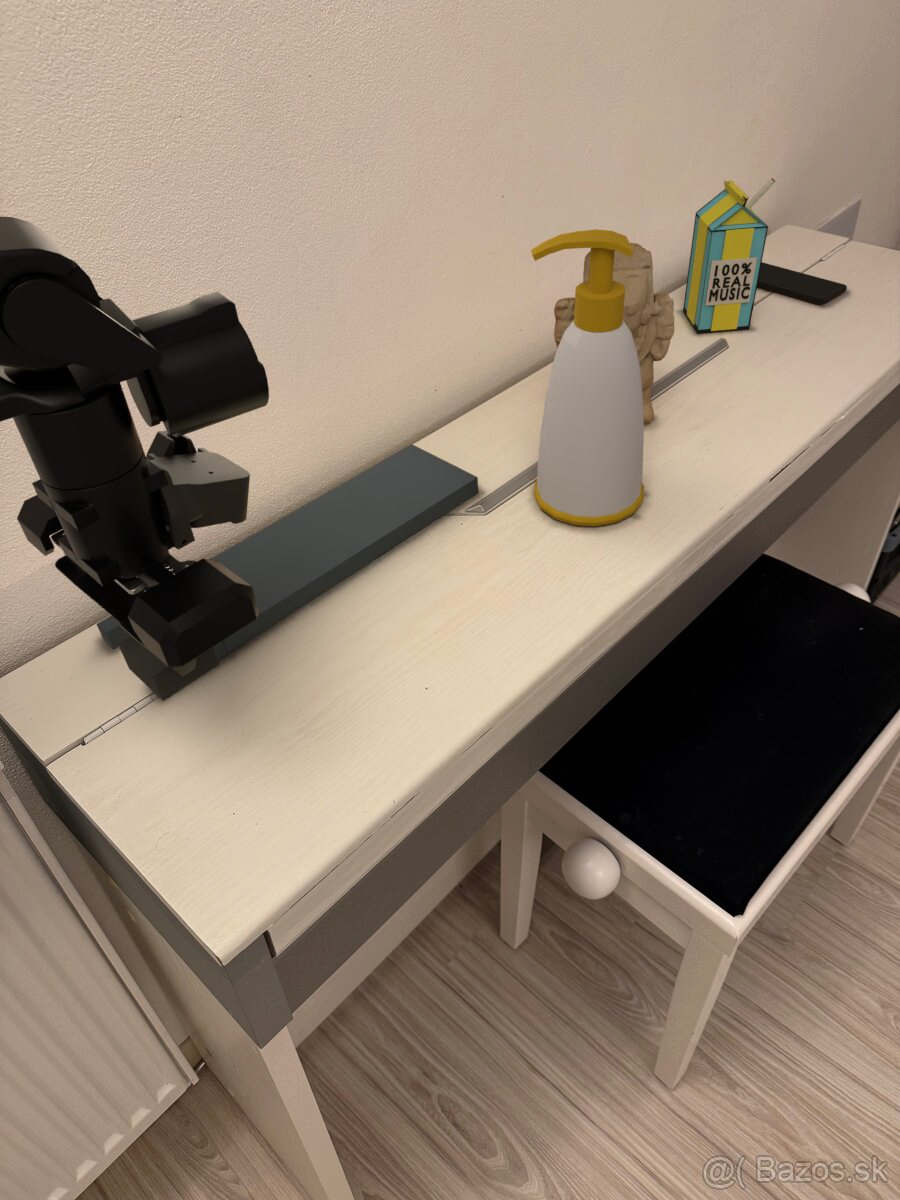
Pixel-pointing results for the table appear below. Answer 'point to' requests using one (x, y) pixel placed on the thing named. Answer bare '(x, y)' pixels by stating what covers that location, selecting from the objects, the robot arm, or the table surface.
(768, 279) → the smartphone
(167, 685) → the black block
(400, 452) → the grey rectangular block
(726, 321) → the carton
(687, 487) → the table surface
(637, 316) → the figurine
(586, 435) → the soap bottle
